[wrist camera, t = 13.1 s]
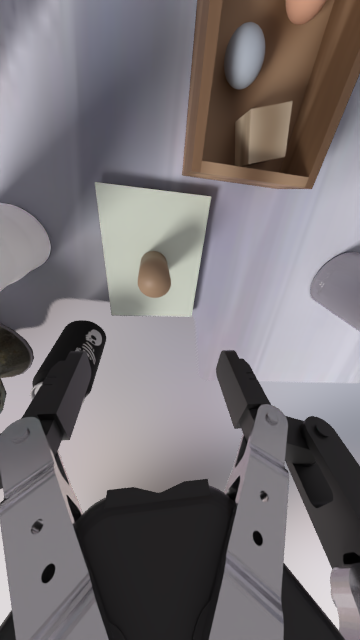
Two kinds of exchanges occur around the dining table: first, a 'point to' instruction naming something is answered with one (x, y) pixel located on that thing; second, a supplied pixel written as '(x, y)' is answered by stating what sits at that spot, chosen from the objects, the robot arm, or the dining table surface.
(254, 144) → the maple cube
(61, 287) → the dining table surface
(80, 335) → the beverage can
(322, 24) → the box
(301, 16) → the ball terracotta
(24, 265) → the water bottle
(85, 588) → the robot arm
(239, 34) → the ball slate
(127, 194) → the lid
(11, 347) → the lantern
